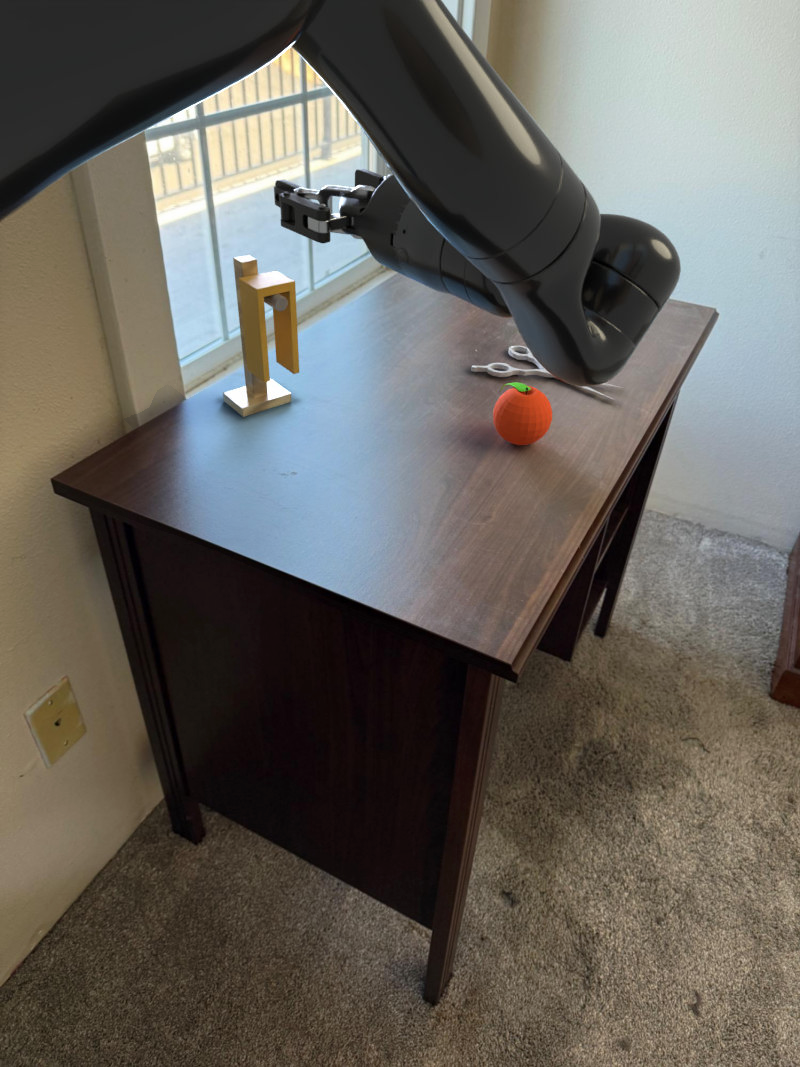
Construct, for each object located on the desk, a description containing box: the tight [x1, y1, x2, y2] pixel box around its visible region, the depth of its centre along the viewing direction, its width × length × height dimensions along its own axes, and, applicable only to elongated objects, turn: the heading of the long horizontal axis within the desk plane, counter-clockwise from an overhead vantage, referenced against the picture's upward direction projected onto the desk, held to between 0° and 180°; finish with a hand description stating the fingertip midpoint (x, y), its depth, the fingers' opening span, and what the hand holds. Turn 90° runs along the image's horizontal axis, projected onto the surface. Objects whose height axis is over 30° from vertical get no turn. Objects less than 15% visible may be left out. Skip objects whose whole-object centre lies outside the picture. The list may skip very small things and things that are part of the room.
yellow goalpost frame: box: [239, 270, 300, 383], centre depth 85 cm, size 5×4×11 cm
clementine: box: [492, 381, 553, 446], centre depth 88 cm, size 8×7×7 cm
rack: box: [222, 254, 293, 418], centre depth 88 cm, size 7×10×18 cm
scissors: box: [471, 345, 624, 401], centre depth 103 cm, size 11×1×20 cm
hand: (319, 186), depth 68 cm, fingers open, 8 cm apart
